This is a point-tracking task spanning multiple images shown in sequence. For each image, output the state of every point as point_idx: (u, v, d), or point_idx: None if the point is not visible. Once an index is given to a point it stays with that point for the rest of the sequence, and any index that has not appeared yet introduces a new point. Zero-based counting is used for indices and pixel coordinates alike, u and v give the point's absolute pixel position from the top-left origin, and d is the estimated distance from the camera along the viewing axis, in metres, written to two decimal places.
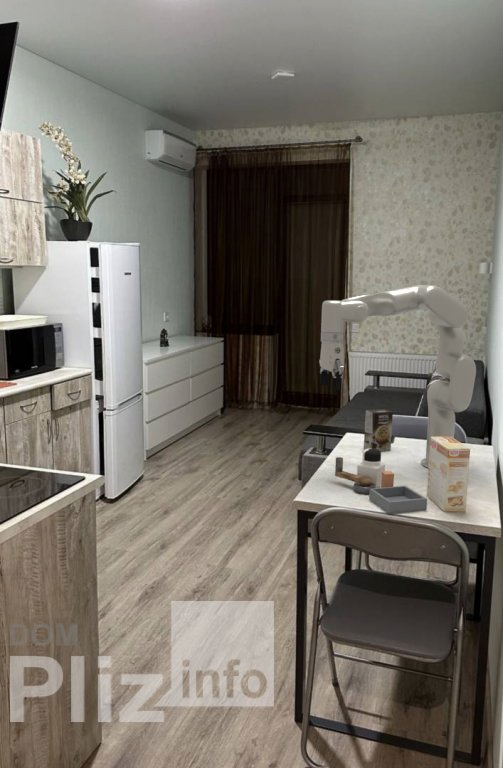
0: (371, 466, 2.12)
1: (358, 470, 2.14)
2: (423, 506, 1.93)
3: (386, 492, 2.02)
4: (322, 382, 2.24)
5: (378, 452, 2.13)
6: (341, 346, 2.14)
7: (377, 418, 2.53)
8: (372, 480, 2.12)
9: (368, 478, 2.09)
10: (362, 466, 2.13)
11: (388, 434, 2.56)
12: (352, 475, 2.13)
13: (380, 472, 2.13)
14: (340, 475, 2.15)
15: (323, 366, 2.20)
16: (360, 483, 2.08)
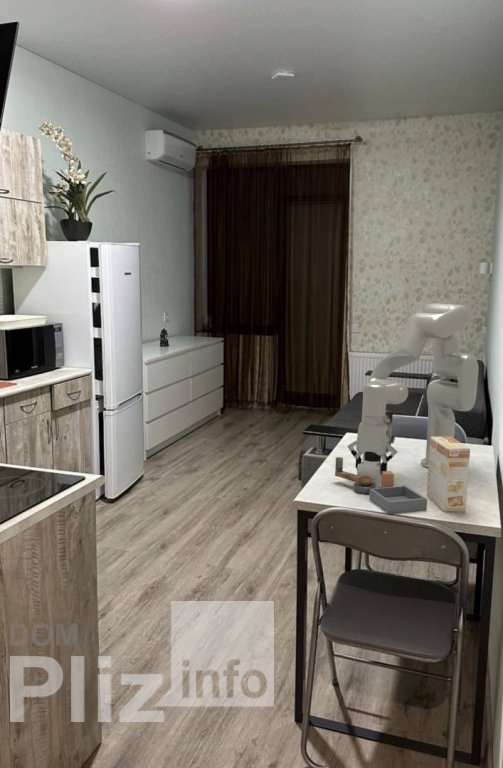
0: (371, 466, 2.12)
1: (358, 470, 2.14)
2: (423, 506, 1.93)
3: (386, 492, 2.02)
4: None
5: None
6: (387, 428, 2.12)
7: None
8: (372, 480, 2.12)
9: (368, 478, 2.09)
10: (362, 466, 2.13)
11: (388, 434, 2.56)
12: (352, 475, 2.13)
13: (380, 472, 2.13)
14: (340, 475, 2.15)
15: (366, 450, 2.13)
16: (360, 483, 2.08)
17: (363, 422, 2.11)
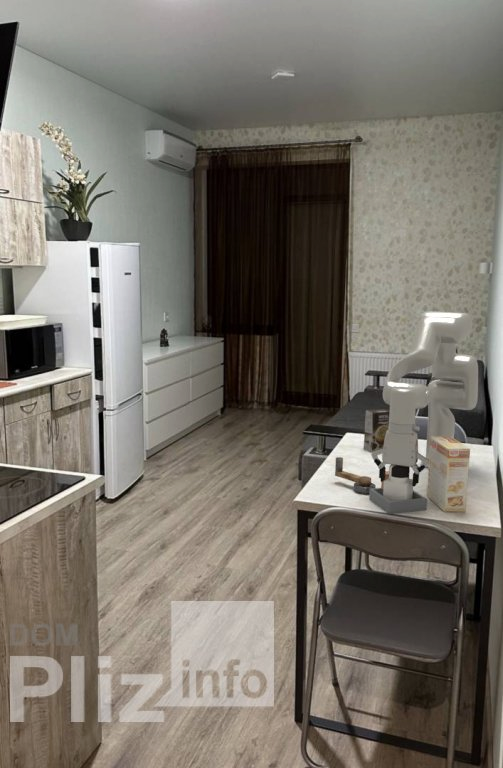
0: (399, 483, 1.93)
1: (384, 487, 1.95)
2: (423, 506, 1.93)
3: None
4: (383, 478, 1.97)
5: (406, 467, 1.94)
6: None
7: (377, 418, 2.53)
8: (400, 498, 1.93)
9: (368, 478, 2.09)
10: (389, 483, 1.94)
11: None
12: (352, 475, 2.13)
13: (409, 489, 1.94)
14: (340, 475, 2.15)
15: (393, 461, 1.94)
16: (360, 483, 2.08)
17: (390, 430, 1.92)
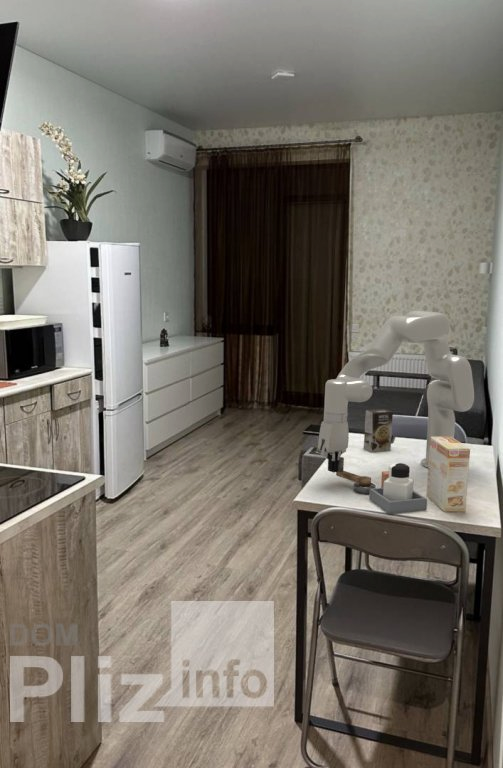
0: (399, 483, 1.93)
1: (384, 487, 1.95)
2: (423, 506, 1.93)
3: None
4: None
5: (406, 467, 1.94)
6: None
7: (377, 418, 2.53)
8: (400, 498, 1.93)
9: (368, 478, 2.09)
10: (389, 483, 1.94)
11: (388, 434, 2.56)
12: (352, 475, 2.13)
13: (409, 489, 1.94)
14: (341, 475, 2.15)
15: (335, 449, 2.11)
16: (360, 483, 2.08)
17: (335, 421, 2.08)
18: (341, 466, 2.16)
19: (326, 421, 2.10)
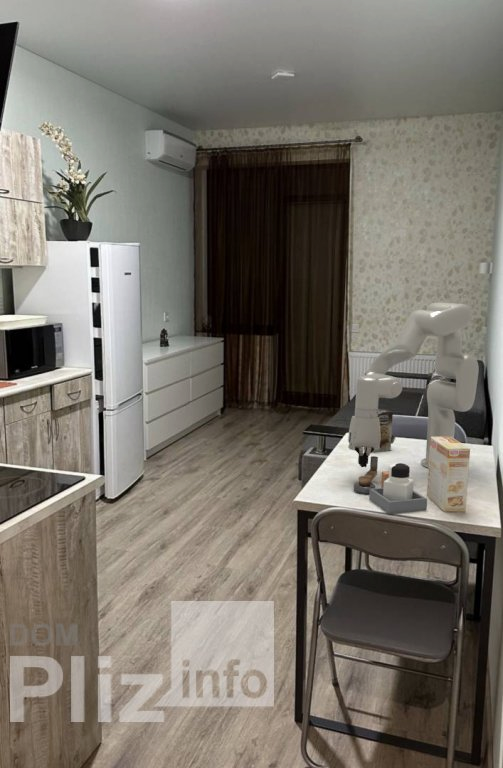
0: (399, 483, 1.93)
1: (384, 487, 1.95)
2: (423, 506, 1.93)
3: None
4: None
5: (406, 467, 1.94)
6: None
7: None
8: (400, 498, 1.93)
9: (366, 479, 2.08)
10: (389, 483, 1.94)
11: (388, 434, 2.56)
12: (368, 474, 2.14)
13: (409, 489, 1.94)
14: None
15: (362, 444, 2.16)
16: None
17: (360, 416, 2.13)
18: (371, 465, 2.18)
19: (355, 415, 2.16)
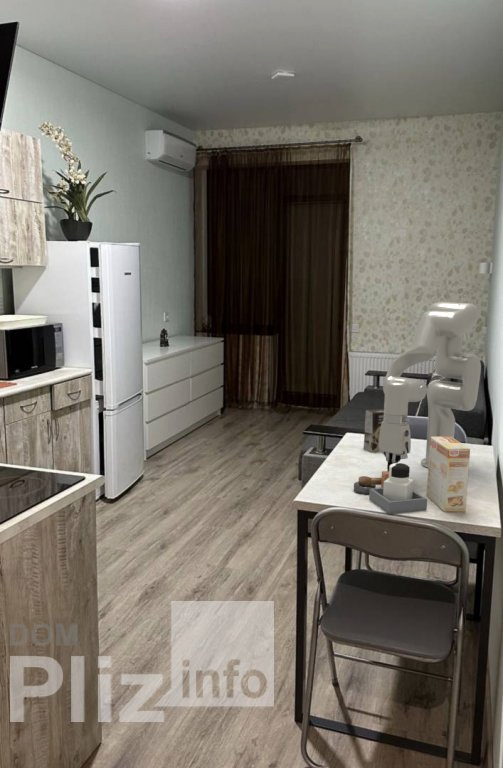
0: (399, 483, 1.93)
1: (384, 487, 1.95)
2: (423, 506, 1.93)
3: None
4: None
5: (407, 467, 1.94)
6: (409, 428, 2.08)
7: (377, 418, 2.53)
8: (400, 498, 1.93)
9: (362, 478, 2.08)
10: (389, 483, 1.94)
11: None
12: (380, 478, 2.10)
13: (409, 489, 1.94)
14: None
15: (386, 448, 2.11)
16: None
17: None
18: None
19: None
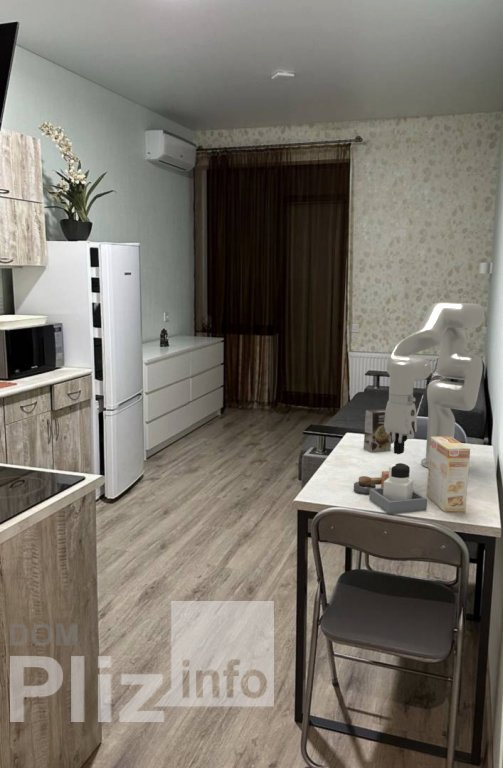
0: (399, 483, 1.93)
1: (384, 487, 1.95)
2: (423, 506, 1.93)
3: None
4: None
5: (406, 467, 1.94)
6: (415, 408, 2.06)
7: (377, 418, 2.53)
8: (400, 498, 1.93)
9: (362, 478, 2.08)
10: (389, 483, 1.94)
11: (388, 434, 2.56)
12: (379, 478, 2.10)
13: (409, 489, 1.94)
14: None
15: (392, 429, 2.10)
16: None
17: (389, 400, 2.08)
18: None
19: None
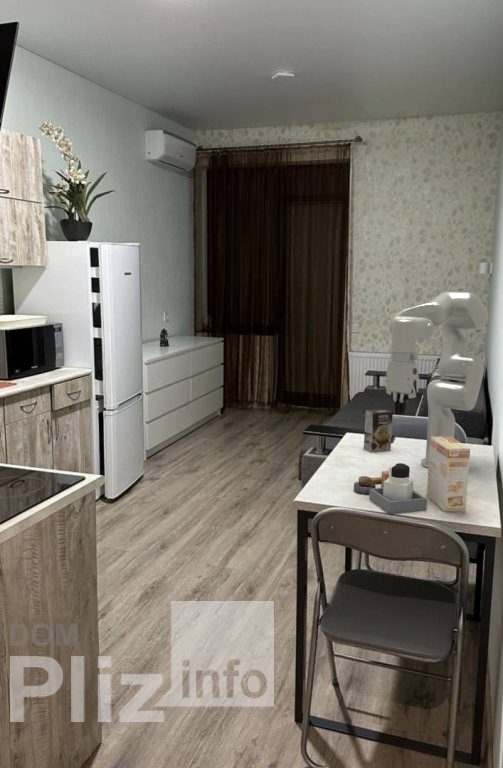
0: (399, 483, 1.93)
1: (384, 487, 1.95)
2: (423, 506, 1.93)
3: None
4: None
5: (406, 467, 1.94)
6: (417, 366, 2.04)
7: (377, 418, 2.53)
8: (400, 498, 1.93)
9: (362, 478, 2.08)
10: (389, 483, 1.94)
11: (388, 434, 2.56)
12: (379, 478, 2.10)
13: (409, 489, 1.94)
14: None
15: (393, 388, 2.07)
16: None
17: (391, 358, 2.06)
18: None
19: None
